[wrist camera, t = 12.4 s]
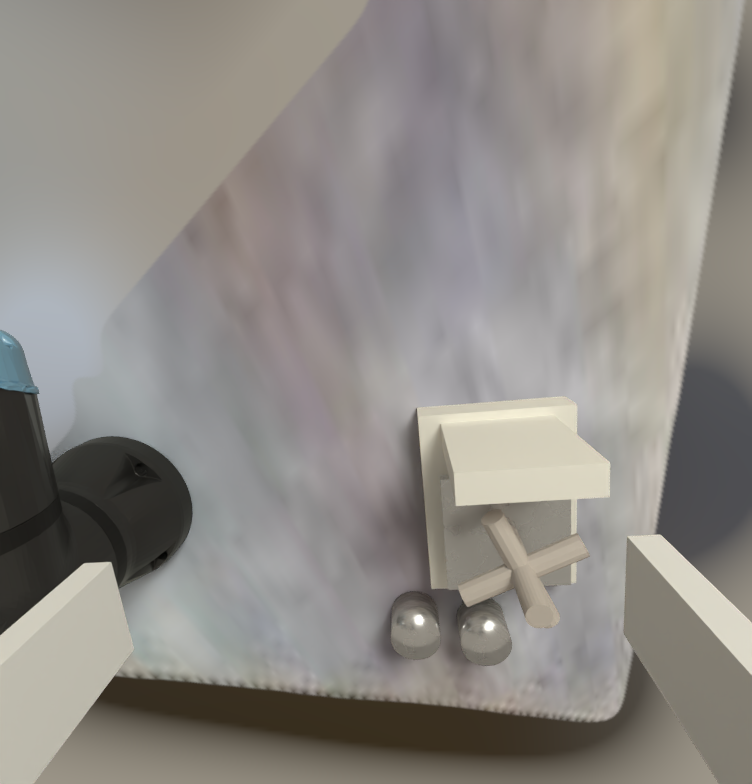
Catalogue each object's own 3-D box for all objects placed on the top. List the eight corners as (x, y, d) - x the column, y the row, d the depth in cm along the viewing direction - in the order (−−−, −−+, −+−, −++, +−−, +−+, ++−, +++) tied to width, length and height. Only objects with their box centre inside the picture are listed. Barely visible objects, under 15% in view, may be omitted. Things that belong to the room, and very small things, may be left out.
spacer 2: (457, 636, 49) (462, 666, 45) (455, 597, 47) (460, 624, 44) (503, 634, 48) (512, 665, 44) (502, 595, 47) (511, 622, 43)
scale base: (429, 570, 47) (440, 686, 33) (416, 407, 43) (422, 463, 29) (565, 564, 46) (633, 681, 32) (564, 396, 42) (643, 449, 28)
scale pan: (447, 583, 41) (448, 590, 40) (439, 475, 39) (440, 479, 38) (567, 577, 41) (571, 584, 40) (566, 466, 38) (571, 471, 37)
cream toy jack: (584, 556, 39) (642, 646, 29) (481, 599, 41) (503, 697, 31) (535, 462, 37) (579, 525, 27) (430, 511, 39) (436, 586, 29)
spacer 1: (393, 630, 49) (392, 660, 45) (389, 591, 48) (388, 618, 44) (439, 629, 48) (442, 659, 45) (436, 590, 47) (438, 617, 43)
